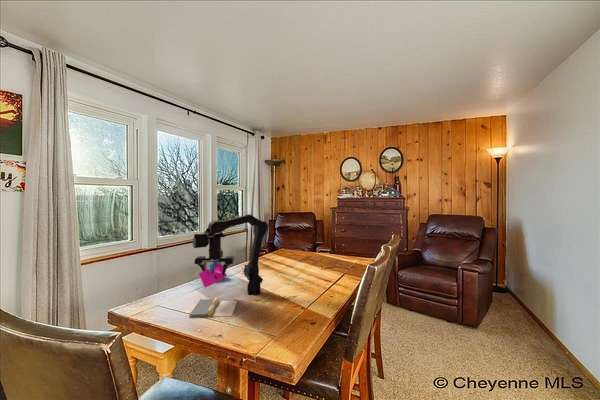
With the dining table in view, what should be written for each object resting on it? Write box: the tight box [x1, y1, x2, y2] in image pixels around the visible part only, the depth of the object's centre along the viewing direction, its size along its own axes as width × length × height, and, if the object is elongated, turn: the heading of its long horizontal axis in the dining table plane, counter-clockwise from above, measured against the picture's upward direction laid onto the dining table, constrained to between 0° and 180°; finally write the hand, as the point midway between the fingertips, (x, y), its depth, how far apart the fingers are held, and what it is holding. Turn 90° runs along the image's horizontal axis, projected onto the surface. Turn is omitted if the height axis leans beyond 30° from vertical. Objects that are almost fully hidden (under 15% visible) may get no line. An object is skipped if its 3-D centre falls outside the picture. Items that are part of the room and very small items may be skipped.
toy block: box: [198, 262, 228, 289], centre depth 141 cm, size 15×6×8 cm, turn 166°
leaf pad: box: [211, 300, 238, 318], centre depth 132 cm, size 8×17×1 cm, turn 5°
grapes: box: [208, 262, 224, 274], centre depth 177 cm, size 12×7×12 cm, turn 145°
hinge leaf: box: [188, 296, 220, 318], centre depth 132 cm, size 9×18×2 cm, turn 5°
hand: (214, 277), depth 142 cm, fingers closed on toy block, 8 cm apart
